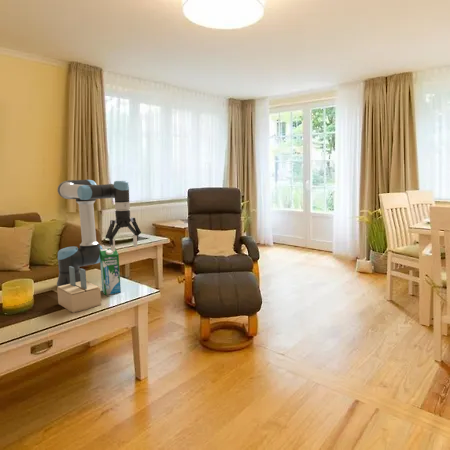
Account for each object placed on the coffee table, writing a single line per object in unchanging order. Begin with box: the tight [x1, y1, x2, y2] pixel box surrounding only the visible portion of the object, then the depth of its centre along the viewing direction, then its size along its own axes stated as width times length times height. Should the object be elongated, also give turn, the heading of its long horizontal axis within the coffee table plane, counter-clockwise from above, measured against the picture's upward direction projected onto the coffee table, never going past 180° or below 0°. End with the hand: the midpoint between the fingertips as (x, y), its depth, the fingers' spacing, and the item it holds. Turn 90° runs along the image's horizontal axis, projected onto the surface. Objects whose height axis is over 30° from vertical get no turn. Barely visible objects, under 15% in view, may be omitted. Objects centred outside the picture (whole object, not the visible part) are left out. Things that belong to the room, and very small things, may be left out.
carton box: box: [56, 286, 102, 314], centre depth 191 cm, size 18×15×9 cm
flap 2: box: [76, 267, 100, 291], centre depth 192 cm, size 17×7×10 cm, turn 46°
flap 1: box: [57, 266, 85, 295], centre depth 187 cm, size 17×7×10 cm, turn 46°
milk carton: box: [99, 247, 122, 296], centre depth 210 cm, size 9×9×25 cm
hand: (124, 249), depth 196 cm, fingers open, 13 cm apart
